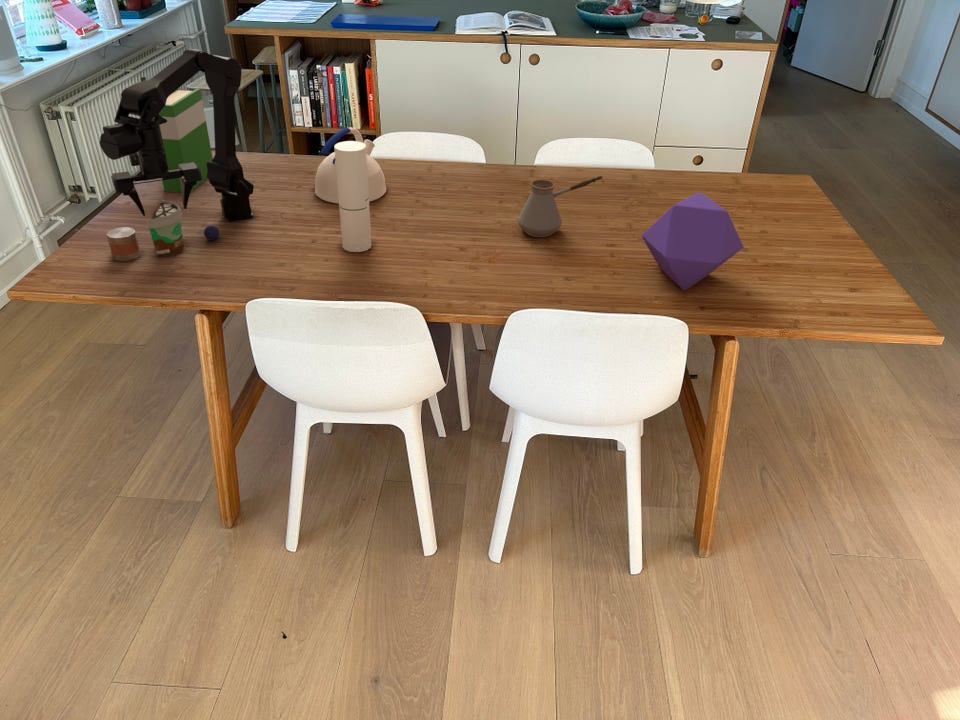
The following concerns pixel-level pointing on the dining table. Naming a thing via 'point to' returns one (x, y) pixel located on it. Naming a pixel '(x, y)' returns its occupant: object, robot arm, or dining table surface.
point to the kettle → (328, 177)
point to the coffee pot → (544, 208)
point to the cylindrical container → (353, 195)
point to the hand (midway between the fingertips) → (164, 212)
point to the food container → (166, 228)
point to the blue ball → (211, 232)
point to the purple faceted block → (692, 240)
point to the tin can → (123, 244)
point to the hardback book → (185, 135)
